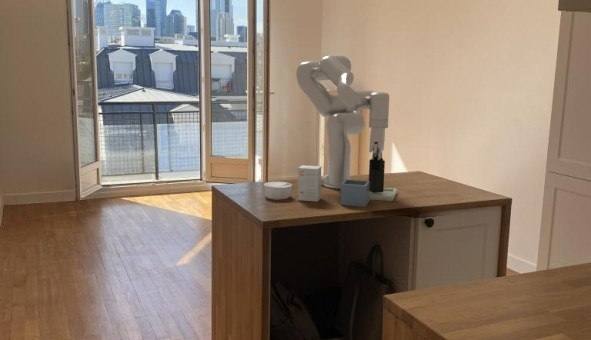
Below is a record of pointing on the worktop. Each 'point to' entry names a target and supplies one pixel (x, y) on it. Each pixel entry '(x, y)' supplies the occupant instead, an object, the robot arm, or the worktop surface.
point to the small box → (309, 183)
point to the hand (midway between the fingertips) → (376, 167)
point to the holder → (355, 192)
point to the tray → (383, 195)
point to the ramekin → (277, 190)
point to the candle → (377, 176)
